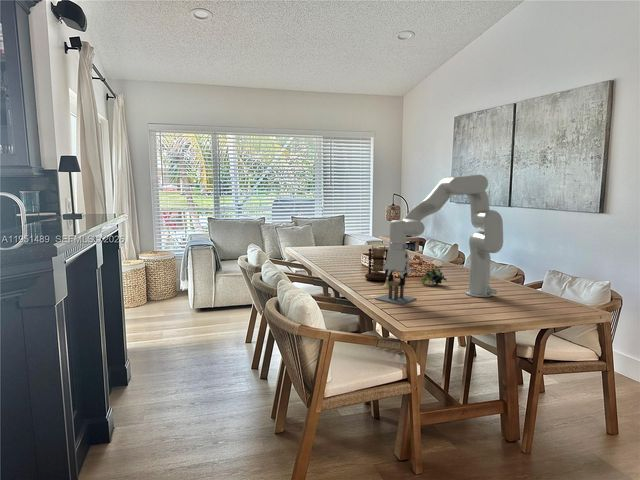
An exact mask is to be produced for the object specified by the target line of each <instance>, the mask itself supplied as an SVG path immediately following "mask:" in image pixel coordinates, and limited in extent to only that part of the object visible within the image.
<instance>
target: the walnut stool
mask: <svg viewBox="0 0 640 480" xmlns="http://www.w3.org/2000/svg"><path fill="white" fill-rule="evenodd" d="M388 285H389V289H388V294H389V299H392V293H393V292H394V293H393V294H394V300H398V295H400V298H403V295H404V291H405V290H404V289H405V285H404V286H400V279H395V280H393V281H389V282H388ZM393 286H395V288H394V289H393V290H392V287H393ZM404 296H405V295H404Z"/></svg>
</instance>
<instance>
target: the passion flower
mask: <svg viewBox="0 0 640 480" xmlns="http://www.w3.org/2000/svg"><path fill="white" fill-rule="evenodd" d="M443 280H444V281H447V278H446V277H445V275H444V272H441V269H438V268H434V267H433V268H432V269H429V270H428V269H426V270H425V274H424V275H423V276H422V277H421V280H420V283H422V284H425V282H426V281H427V282H428V284H429V285H431V287H433V286H434V285H435V284H436V285H438V284H442V281H443ZM430 283H431V284H430Z"/></svg>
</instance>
